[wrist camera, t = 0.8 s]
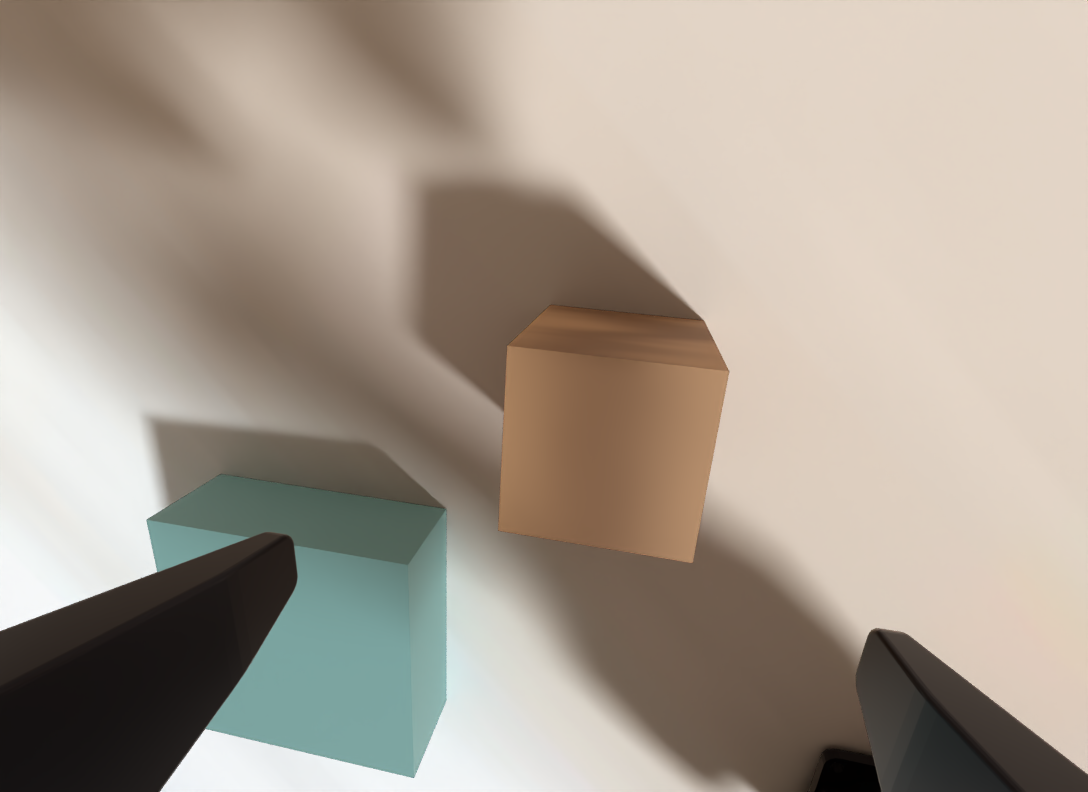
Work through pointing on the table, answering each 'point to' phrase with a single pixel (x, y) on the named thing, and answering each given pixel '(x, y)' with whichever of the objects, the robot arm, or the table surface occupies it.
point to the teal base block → (332, 618)
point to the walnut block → (610, 430)
